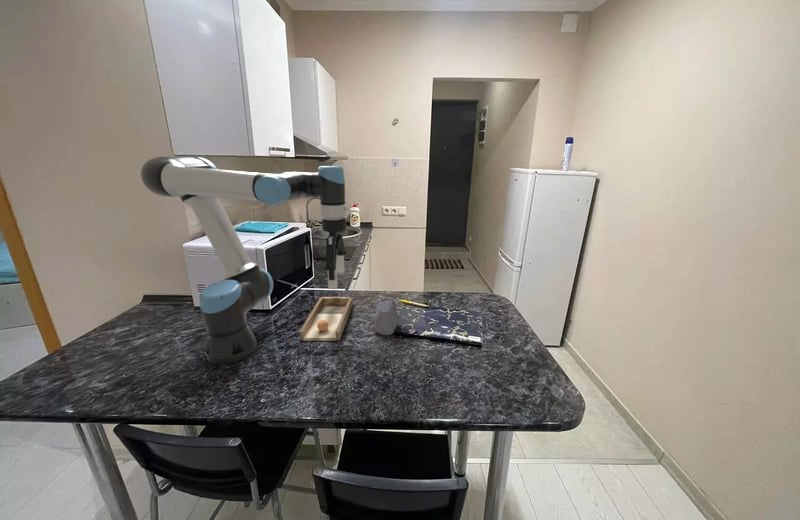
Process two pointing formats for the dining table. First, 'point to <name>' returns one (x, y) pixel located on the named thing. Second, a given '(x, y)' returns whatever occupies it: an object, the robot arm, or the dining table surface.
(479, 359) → the dining table surface
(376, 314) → the stone
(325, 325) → the ball
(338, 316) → the tray
